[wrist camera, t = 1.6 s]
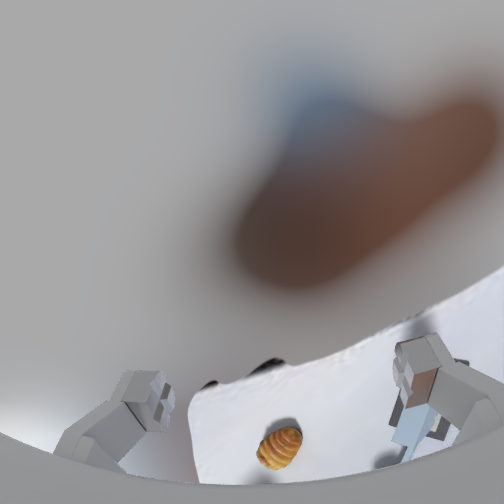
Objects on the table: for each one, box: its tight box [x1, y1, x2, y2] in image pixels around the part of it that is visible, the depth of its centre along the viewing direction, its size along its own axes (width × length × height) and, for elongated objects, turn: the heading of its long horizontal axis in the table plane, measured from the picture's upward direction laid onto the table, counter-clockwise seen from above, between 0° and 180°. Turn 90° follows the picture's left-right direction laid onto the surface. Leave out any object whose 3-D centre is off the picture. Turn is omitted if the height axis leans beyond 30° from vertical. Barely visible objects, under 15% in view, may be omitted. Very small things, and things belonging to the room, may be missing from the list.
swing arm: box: [391, 403, 437, 463], centre depth 28 cm, size 21×4×8 cm, turn 161°
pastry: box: [256, 427, 302, 470], centre depth 45 cm, size 9×7×4 cm
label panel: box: [389, 361, 469, 441], centre depth 32 cm, size 9×11×1 cm
